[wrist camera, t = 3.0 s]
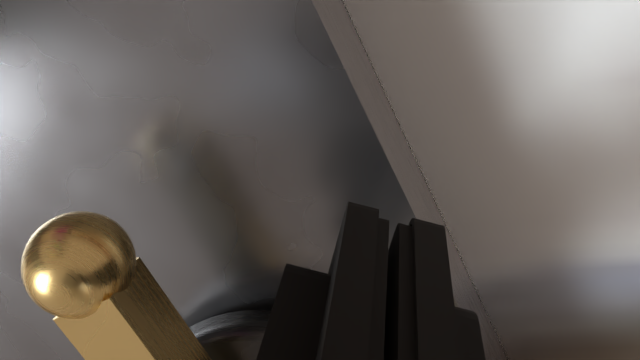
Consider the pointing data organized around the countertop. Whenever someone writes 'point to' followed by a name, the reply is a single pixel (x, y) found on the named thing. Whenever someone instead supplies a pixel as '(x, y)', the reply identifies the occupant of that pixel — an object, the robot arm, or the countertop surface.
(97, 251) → the capstan
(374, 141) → the stand
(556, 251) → the countertop surface
